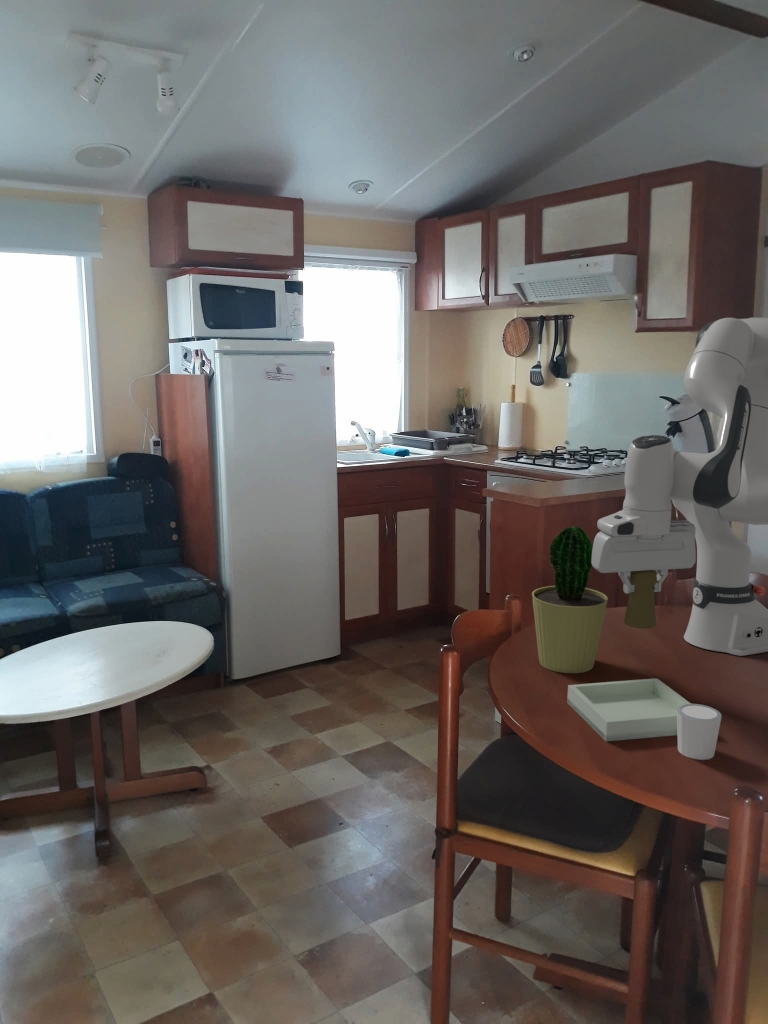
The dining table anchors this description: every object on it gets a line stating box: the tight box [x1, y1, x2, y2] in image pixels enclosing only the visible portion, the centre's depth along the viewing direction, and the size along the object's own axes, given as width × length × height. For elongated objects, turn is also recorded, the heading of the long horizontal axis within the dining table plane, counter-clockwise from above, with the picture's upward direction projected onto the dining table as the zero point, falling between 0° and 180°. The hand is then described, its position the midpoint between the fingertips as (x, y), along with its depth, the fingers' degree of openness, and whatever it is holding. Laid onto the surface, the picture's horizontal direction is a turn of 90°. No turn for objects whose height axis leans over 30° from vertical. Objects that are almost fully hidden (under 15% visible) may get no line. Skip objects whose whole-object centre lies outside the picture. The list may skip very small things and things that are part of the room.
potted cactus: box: [531, 524, 609, 674], centre depth 173 cm, size 15×15×30 cm
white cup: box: [676, 703, 722, 761], centre depth 136 cm, size 7×7×7 cm
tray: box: [566, 677, 692, 743], centre depth 149 cm, size 18×16×4 cm
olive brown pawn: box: [623, 570, 657, 630], centre depth 161 cm, size 6×6×11 cm
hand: (641, 591), depth 161 cm, fingers closed on olive brown pawn, 4 cm apart
